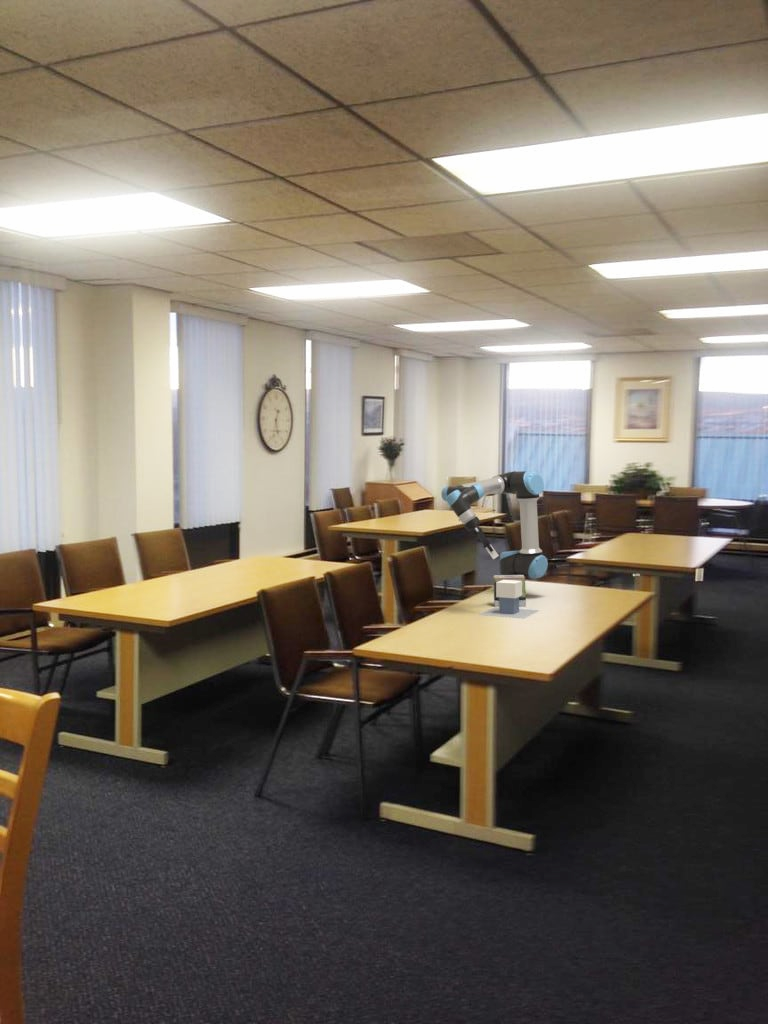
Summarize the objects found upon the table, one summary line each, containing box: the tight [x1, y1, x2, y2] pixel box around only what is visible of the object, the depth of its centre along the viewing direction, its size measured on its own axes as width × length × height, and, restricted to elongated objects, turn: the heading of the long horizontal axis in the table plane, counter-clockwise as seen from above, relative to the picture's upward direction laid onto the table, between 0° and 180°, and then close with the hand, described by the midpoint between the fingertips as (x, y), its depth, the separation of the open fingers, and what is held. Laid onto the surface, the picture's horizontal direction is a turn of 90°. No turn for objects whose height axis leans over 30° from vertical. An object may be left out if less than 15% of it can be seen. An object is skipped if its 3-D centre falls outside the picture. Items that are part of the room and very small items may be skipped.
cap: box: [496, 580, 522, 598], centre depth 394 cm, size 9×9×7 cm
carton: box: [499, 597, 520, 614], centre depth 394 cm, size 7×7×13 cm
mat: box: [478, 606, 541, 619], centre depth 395 cm, size 22×22×1 cm
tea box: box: [493, 574, 527, 608], centre depth 414 cm, size 15×10×15 cm, turn 84°
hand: (496, 557), depth 398 cm, fingers open, 13 cm apart
